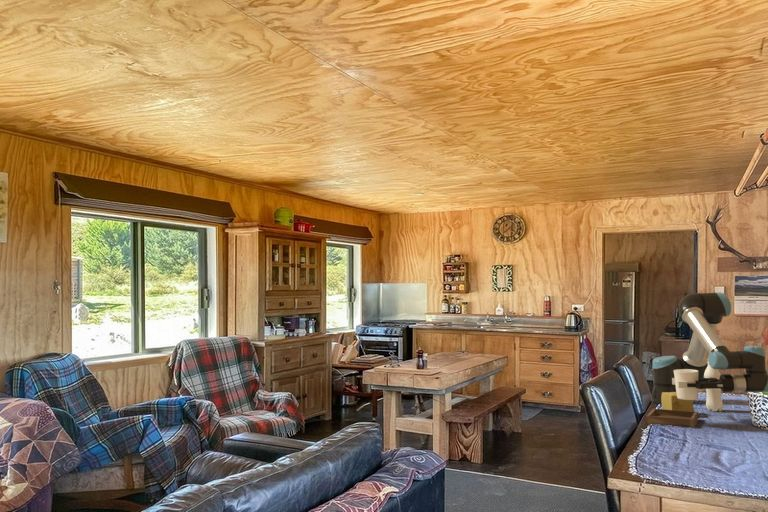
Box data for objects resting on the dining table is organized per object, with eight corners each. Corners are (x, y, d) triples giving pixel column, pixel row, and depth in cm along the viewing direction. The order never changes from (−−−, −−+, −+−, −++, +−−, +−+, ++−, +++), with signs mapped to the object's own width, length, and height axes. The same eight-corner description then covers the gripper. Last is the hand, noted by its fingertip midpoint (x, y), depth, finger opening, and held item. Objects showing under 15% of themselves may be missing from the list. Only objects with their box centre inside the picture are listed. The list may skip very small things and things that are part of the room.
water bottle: (702, 410, 283) (699, 358, 284) (712, 408, 286) (709, 356, 287) (716, 412, 276) (713, 359, 278) (726, 411, 279) (723, 358, 281)
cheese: (695, 416, 270) (693, 394, 270) (671, 417, 270) (670, 395, 271) (684, 412, 280) (682, 391, 281) (661, 412, 280) (660, 391, 281)
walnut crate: (653, 416, 273) (653, 408, 273) (698, 419, 263) (697, 411, 263) (646, 424, 257) (646, 416, 258) (693, 428, 247) (693, 419, 248)
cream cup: (703, 400, 250) (701, 372, 251) (679, 400, 252) (677, 372, 253) (696, 396, 260) (694, 369, 261) (672, 396, 262) (670, 369, 263)
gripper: (742, 396, 242) (682, 396, 247) (723, 387, 263) (669, 387, 268) (740, 377, 242) (681, 378, 247) (722, 370, 264) (668, 371, 268)
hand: (675, 383), depth 258 cm, fingers closed on cream cup, 9 cm apart
